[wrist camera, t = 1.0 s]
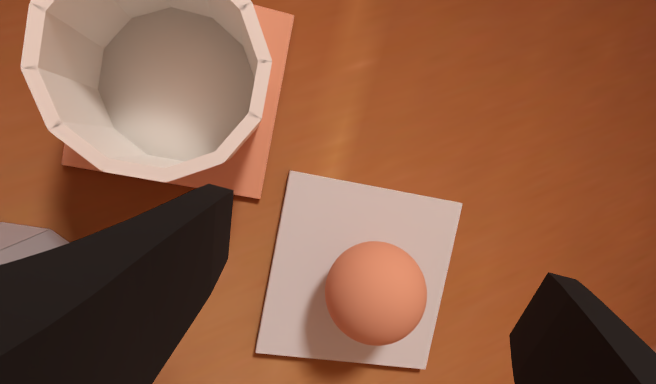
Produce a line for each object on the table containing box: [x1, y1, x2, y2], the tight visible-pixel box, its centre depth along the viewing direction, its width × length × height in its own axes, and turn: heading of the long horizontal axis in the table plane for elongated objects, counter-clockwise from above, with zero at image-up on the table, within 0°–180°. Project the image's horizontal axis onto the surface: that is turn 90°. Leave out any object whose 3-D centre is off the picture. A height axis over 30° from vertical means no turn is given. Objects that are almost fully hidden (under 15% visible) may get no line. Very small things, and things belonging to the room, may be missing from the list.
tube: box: [21, 0, 294, 199], centre depth 17 cm, size 10×10×6 cm
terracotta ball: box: [325, 241, 427, 346], centre depth 20 cm, size 5×5×5 cm
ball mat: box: [255, 170, 462, 369], centre depth 23 cm, size 10×10×1 cm
